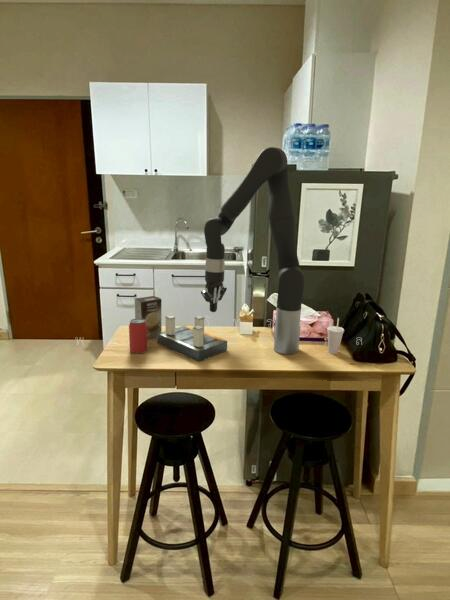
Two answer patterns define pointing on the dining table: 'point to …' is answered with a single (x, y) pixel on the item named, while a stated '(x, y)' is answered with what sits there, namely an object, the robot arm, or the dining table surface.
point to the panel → (184, 344)
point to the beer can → (138, 335)
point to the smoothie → (334, 338)
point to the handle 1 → (170, 325)
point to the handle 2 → (198, 336)
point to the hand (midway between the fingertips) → (213, 311)
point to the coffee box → (149, 314)
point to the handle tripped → (199, 321)
